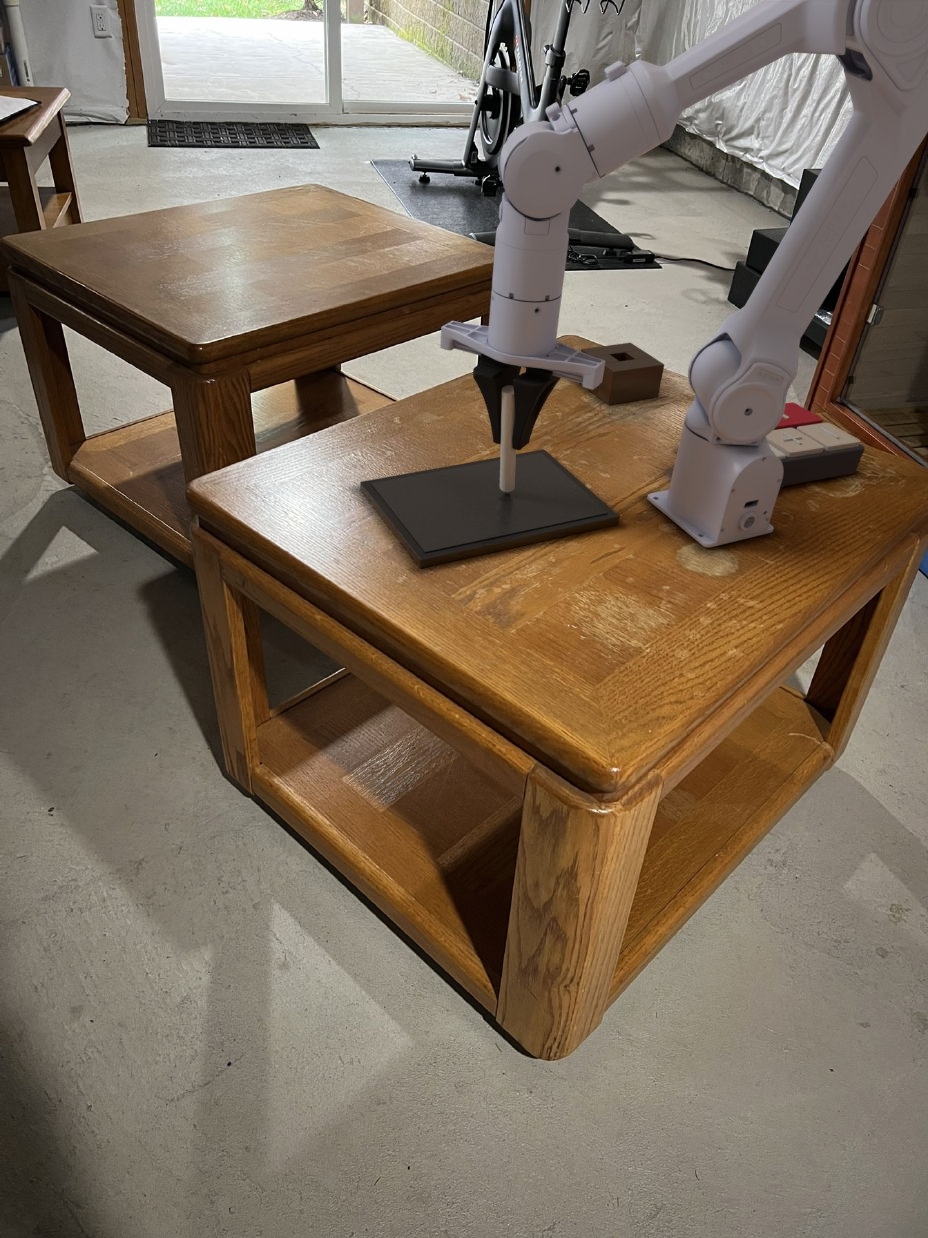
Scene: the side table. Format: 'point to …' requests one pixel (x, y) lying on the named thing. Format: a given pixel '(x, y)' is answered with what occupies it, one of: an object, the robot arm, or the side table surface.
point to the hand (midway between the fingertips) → (511, 442)
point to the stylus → (507, 441)
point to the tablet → (484, 507)
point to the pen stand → (626, 373)
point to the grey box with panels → (812, 447)
